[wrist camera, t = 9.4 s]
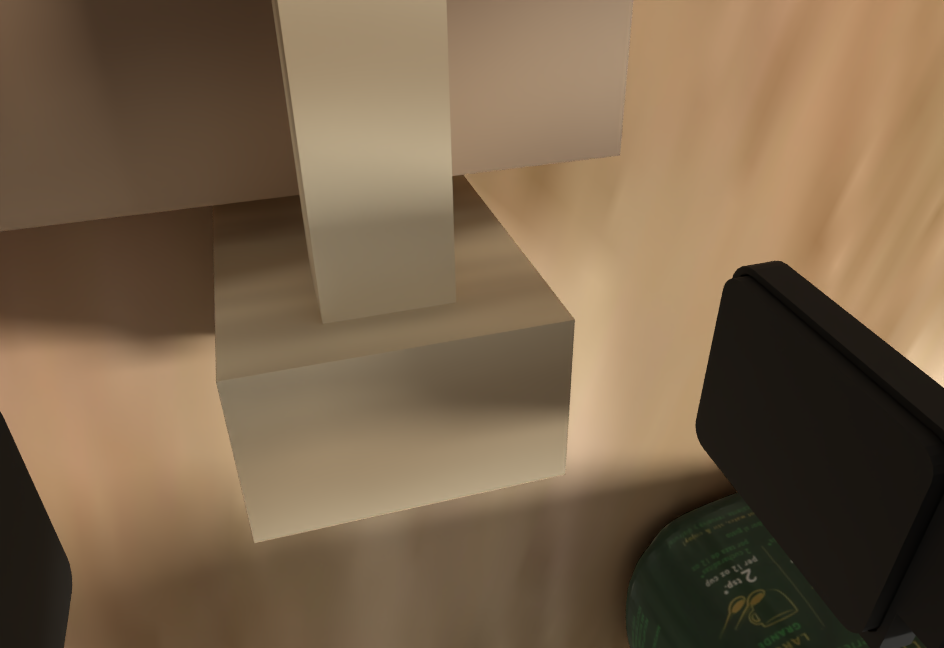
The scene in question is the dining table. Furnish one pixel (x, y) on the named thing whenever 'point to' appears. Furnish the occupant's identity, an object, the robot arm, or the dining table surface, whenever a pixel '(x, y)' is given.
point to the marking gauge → (379, 294)
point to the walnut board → (267, 99)
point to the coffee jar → (727, 588)
